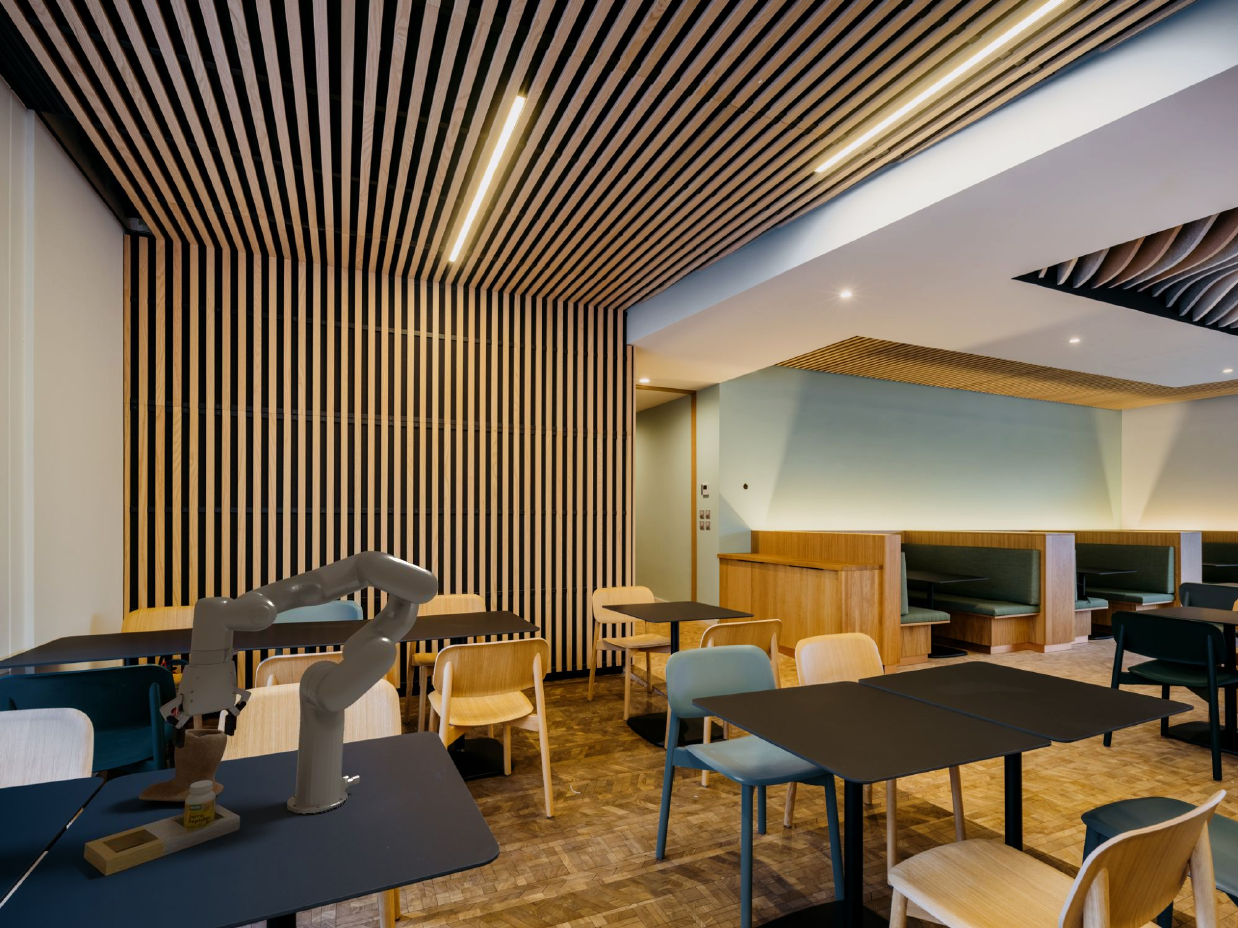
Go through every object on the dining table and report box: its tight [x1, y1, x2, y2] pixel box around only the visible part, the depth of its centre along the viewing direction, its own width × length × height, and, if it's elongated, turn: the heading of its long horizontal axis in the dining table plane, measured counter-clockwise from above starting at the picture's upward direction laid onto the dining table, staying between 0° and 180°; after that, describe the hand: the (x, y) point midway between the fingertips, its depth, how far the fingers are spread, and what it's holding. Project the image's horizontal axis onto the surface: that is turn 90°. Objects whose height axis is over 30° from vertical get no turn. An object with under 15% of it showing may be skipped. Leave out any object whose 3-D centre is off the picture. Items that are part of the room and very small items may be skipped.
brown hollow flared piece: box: [138, 728, 228, 803], centre depth 154 cm, size 15×12×15 cm
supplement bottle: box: [183, 780, 217, 829], centre depth 136 cm, size 5×5×10 cm
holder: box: [83, 802, 241, 877], centre depth 131 cm, size 23×11×3 cm, turn 145°
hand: (204, 740), depth 137 cm, fingers open, 9 cm apart
